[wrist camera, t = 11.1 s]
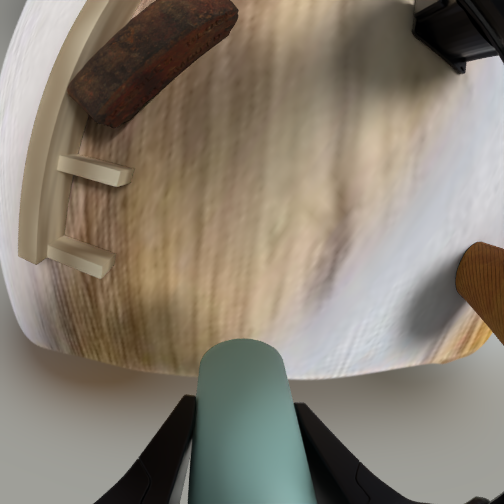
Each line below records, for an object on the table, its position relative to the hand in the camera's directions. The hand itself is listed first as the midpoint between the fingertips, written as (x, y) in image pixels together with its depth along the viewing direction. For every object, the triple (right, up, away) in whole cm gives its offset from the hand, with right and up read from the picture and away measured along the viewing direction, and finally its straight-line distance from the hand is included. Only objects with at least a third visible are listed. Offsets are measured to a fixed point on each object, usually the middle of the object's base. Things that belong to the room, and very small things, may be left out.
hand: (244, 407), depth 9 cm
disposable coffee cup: (+24, +4, +14) cm, 28 cm away
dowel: (0, +1, +2) cm, 2 cm away
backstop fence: (-10, +15, +7) cm, 19 cm away
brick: (-6, +19, +6) cm, 21 cm away
